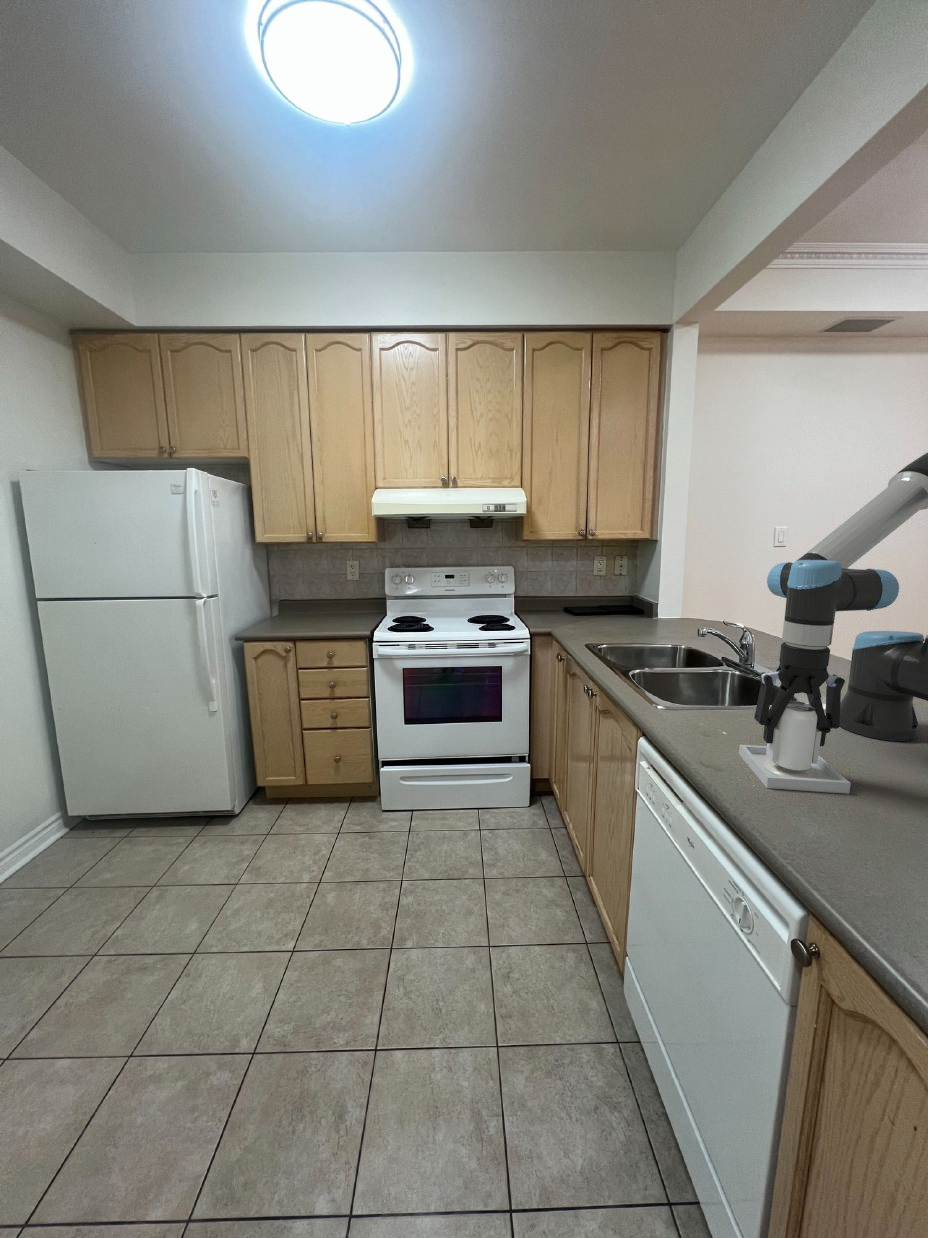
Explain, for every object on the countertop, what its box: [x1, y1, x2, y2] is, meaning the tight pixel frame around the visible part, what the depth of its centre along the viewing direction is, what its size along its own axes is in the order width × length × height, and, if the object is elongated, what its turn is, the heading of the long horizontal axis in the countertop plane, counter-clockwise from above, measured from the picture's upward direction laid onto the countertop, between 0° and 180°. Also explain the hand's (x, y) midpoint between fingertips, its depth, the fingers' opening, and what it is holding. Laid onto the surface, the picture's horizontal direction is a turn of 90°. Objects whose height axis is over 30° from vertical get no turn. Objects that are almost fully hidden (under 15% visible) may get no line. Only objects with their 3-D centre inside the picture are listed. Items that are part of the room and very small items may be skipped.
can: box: [773, 699, 817, 771], centre depth 94 cm, size 6×6×12 cm
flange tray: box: [738, 744, 852, 795], centre depth 95 cm, size 14×14×2 cm
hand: (791, 759), depth 95 cm, fingers closed on can, 6 cm apart
